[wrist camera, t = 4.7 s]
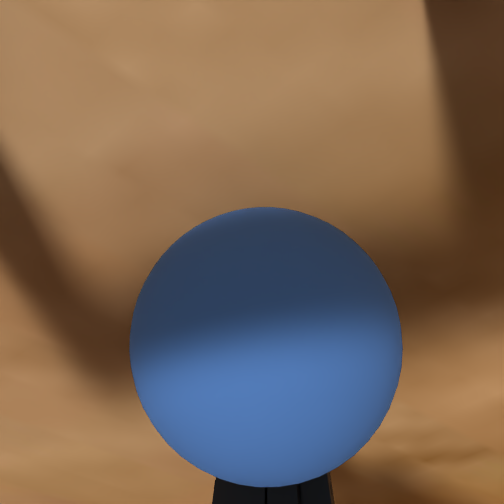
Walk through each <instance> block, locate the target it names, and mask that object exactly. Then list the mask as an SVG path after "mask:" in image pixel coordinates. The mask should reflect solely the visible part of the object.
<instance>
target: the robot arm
mask: <svg viewBox="0 0 504 504" xmlns="http://www.w3.org/2000/svg"><path fill="white" fill-rule="evenodd" d="M212 504H335V503H334V497H333V490H332V484H331V476H330V471H329V472H327V473H325V474H324V475H322V476H320V477H317V478H314V479H311V480H308V481H305V482H302V483H299V484H293V485H287V486H281V487H253V486H246V485H239V484H236V483H232V482H229V481H226V480H222V479H219V478H217V477H216V480H215V486H214V494H213V502H212Z"/></svg>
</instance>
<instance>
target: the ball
mask: <svg viewBox="0 0 504 504" xmlns="http://www.w3.org/2000/svg"><path fill="white" fill-rule="evenodd" d="M402 350H403V348H402V335H401V325H400V320H399V315H398V311H397V307H396V304H395V301H394V299H393V296H392V294H391V291H390V289H389V287H388V285H387V283H386V281H385V279H384V278H383V276H382V274H381V272H380V270H379V269H378V267H377V266H376V265H375V263H374V262H373V261H372V259H371V258H370V257H369V256H368V255H367V254H366V252H365V251H364V250H363V249H362V248H361V247H360V246H359V245H358V244H357V243H356V242H354V241H353V240H352V239H351V238H350V237H348V236H347V235H346V234H345V233H343V232H342V231H340V230H339V229H337V228H336V227H334V226H332V225H331V224H329V223H327V222H325V221H323V220H321V219H318V218H316V217H313V216H310V215H307V214H305V213H302V212H298V211H294V210H289V209H283V208H274V207H256V208H247V209H241V210H236V211H231V212H228V213H225V214H222V215H219V216H216V217H214V218H212V219H209V220H207V221H205V222H203V223H201V224H200V225H198V226H196V227H194V228H193V229H191V230H190V231H188V232H187V233H186V234H184V235H183V236H182V237H180V238H179V239H178V240H177V241H176V242H175V243H174V244H172V245H171V246H170V247H169V249H168V250H167V251H166V252H165V253H164V254H163V255H162V256H161V258H160V259H159V260H158V262H157V263H156V264H155V266H154V267H153V269H152V271H151V272H150V274H149V276H148V277H147V279H146V281H145V283H144V285H143V287H142V289H141V292H140V294H139V296H138V299H137V302H136V306H135V309H134V312H133V318H132V325H131V331H130V349H129V352H130V362H131V369H132V374H133V378H134V382H135V386H136V391H137V393H138V396H139V398H140V401H141V403H142V406H143V408H144V410H145V412H146V414H147V415H148V417H149V419H150V420H151V422H152V424H153V425H154V427H155V428H156V430H157V431H158V432H159V434H160V435H161V436H162V437H163V439H164V440H165V441H166V442H167V444H168V445H169V446H171V447H172V448H173V449H174V450H175V451H176V452H177V453H178V454H179V455H180V456H181V457H183V458H184V459H185V460H187V461H188V462H190V463H191V464H193V465H194V466H196V467H197V468H199V469H201V470H203V471H205V472H207V473H209V474H211V475H213V476H215V477H217V478H219V479H222V480H226V481H229V482H232V483H236V484H239V485H246V486H253V487H281V486H287V485H293V484H299V483H302V482H305V481H308V480H311V479H314V478H317V477H320V476H322V475H324V474H325V473H327V472H329V471H331V470H333V469H335V468H337V467H338V466H340V465H341V464H343V463H344V462H345V461H347V460H348V459H350V458H351V457H352V456H354V455H355V454H356V453H357V452H358V451H359V450H360V449H361V448H362V447H363V446H364V445H365V444H366V443H367V442H368V441H369V439H370V438H371V437H372V435H373V434H374V433H375V431H376V430H377V429H378V427H379V426H380V425H381V423H382V421H383V419H384V417H385V415H386V413H387V412H388V410H389V408H390V405H391V402H392V400H393V397H394V394H395V391H396V389H397V386H398V381H399V376H400V372H401V366H402Z"/></svg>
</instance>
